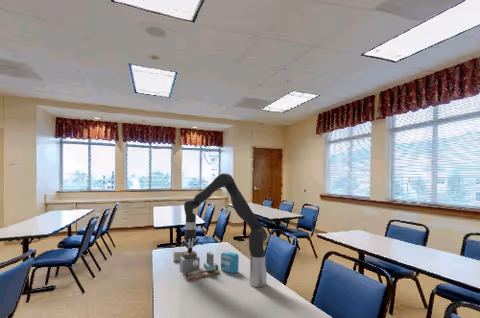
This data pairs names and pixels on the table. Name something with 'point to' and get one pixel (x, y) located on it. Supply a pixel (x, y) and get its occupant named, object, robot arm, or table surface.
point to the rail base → (199, 273)
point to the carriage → (210, 262)
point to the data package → (229, 262)
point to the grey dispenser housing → (189, 261)
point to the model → (178, 255)
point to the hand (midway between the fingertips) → (189, 252)
